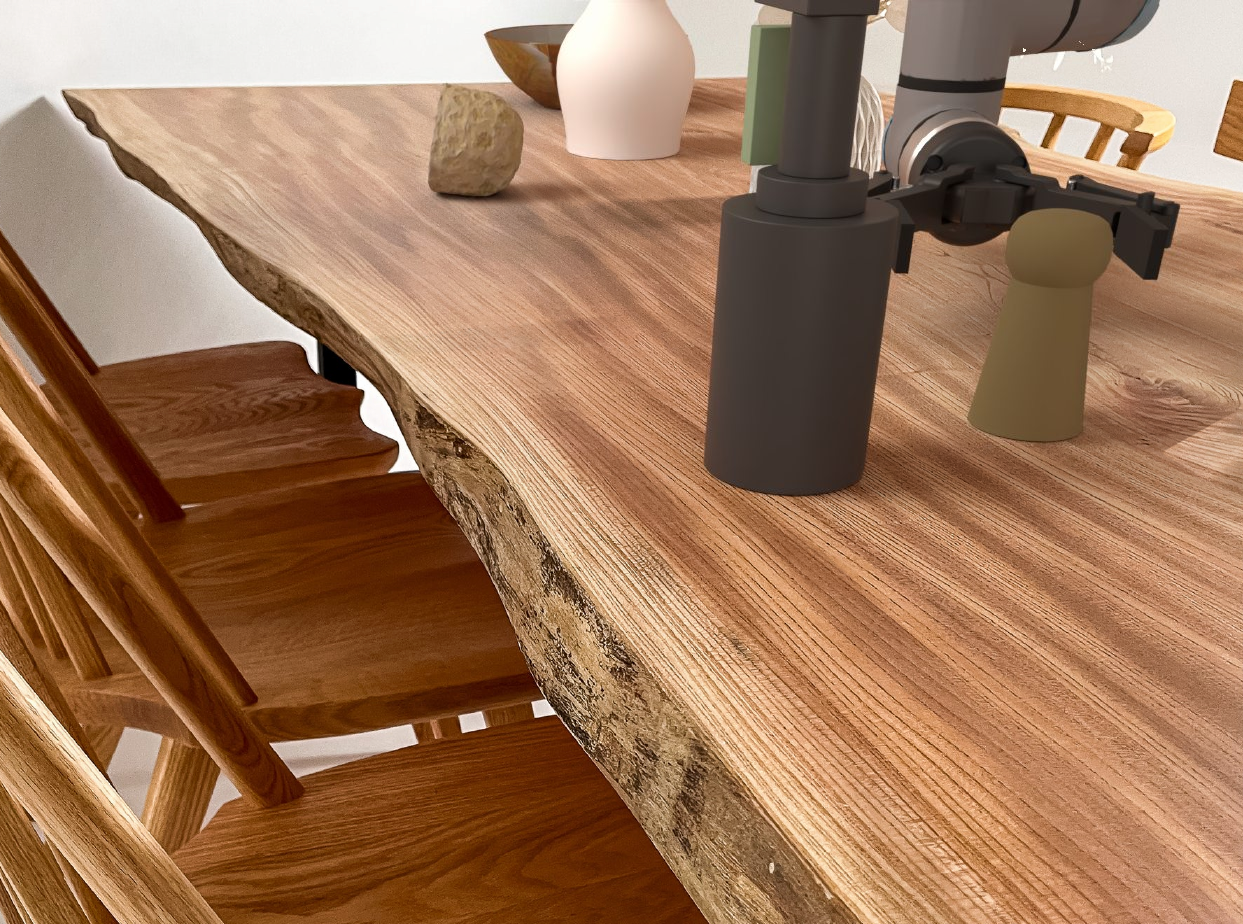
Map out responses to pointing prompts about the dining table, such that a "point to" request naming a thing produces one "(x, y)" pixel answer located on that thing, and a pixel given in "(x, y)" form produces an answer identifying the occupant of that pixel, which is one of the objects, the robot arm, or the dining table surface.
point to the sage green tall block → (765, 94)
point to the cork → (1043, 327)
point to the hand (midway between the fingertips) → (1029, 252)
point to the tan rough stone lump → (474, 143)
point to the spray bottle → (802, 281)
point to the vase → (625, 81)
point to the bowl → (530, 58)
